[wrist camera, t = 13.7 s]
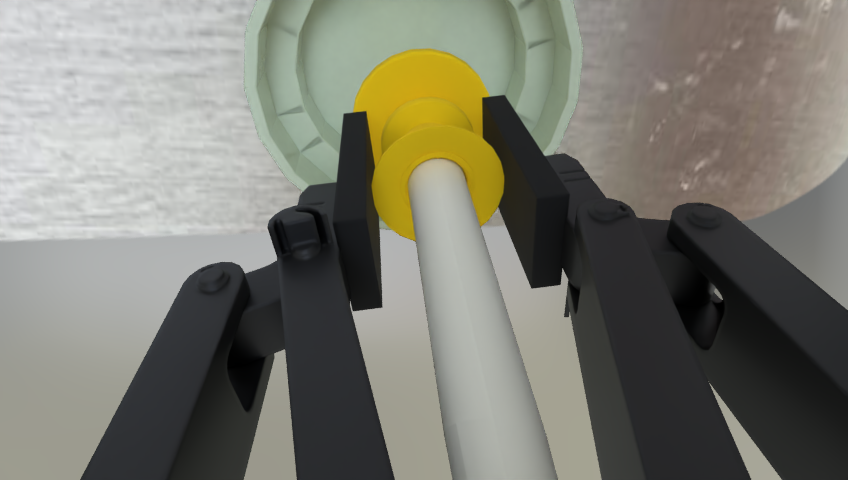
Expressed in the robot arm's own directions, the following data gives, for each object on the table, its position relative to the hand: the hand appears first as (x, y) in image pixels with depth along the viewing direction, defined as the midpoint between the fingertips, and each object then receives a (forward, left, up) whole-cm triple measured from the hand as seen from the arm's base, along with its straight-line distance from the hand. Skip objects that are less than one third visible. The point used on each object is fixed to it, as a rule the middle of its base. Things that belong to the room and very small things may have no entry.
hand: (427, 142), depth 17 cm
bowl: (0, 0, -10) cm, 10 cm away
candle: (0, 0, -2) cm, 2 cm away
